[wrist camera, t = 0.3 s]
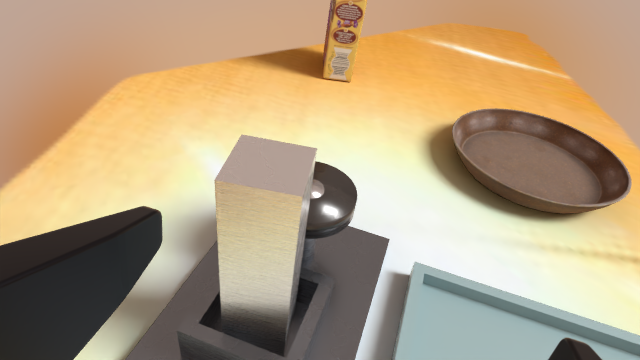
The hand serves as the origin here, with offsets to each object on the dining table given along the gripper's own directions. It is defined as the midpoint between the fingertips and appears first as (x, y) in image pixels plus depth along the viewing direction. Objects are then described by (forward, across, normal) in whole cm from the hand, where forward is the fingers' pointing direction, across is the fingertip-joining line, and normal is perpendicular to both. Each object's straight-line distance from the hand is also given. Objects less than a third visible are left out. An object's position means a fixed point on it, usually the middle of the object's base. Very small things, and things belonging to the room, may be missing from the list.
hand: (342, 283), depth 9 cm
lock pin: (+10, +5, +14) cm, 18 cm away
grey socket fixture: (+13, +5, +15) cm, 20 cm away
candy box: (+53, +11, +9) cm, 55 cm away
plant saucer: (+38, -14, +11) cm, 43 cm away
